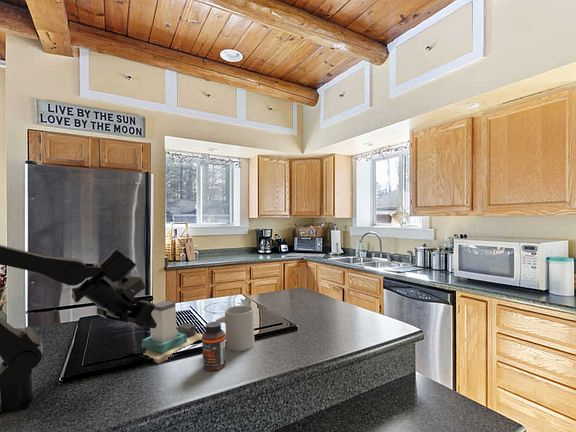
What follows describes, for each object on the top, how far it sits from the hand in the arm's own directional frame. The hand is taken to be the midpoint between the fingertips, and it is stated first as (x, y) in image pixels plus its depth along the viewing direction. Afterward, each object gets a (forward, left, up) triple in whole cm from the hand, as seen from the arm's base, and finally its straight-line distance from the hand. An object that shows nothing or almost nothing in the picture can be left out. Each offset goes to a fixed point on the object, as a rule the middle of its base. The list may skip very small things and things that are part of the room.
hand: (145, 324), depth 91 cm
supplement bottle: (-13, -18, -10) cm, 24 cm away
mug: (-3, -25, -10) cm, 27 cm away
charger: (+4, -5, -8) cm, 10 cm away
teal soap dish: (+5, -6, -10) cm, 12 cm away
